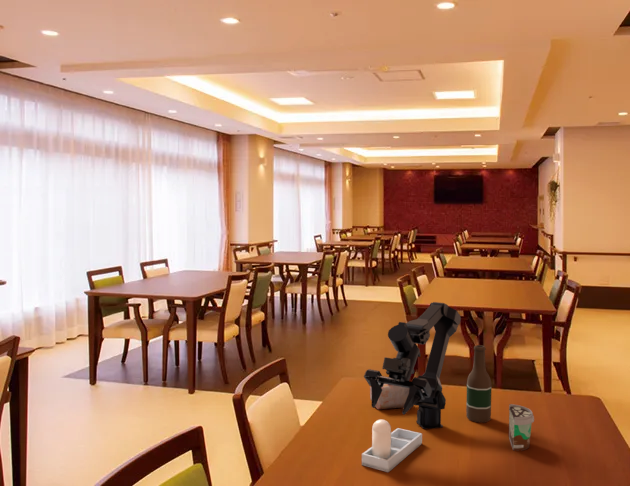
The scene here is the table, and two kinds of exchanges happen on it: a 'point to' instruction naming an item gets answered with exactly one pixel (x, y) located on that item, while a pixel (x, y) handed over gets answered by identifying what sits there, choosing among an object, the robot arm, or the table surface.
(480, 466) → the table surface
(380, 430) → the cream tall rounded piece
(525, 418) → the food container
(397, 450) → the white compartment tray
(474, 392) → the beer bottle
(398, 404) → the food item
